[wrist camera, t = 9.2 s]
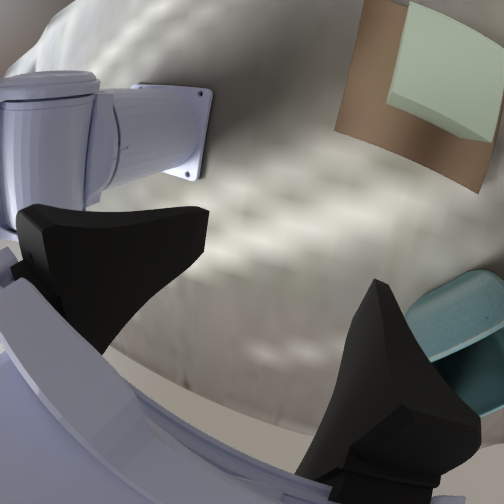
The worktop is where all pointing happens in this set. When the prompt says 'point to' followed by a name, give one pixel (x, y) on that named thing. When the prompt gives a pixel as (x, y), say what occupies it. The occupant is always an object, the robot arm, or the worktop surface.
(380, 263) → the worktop surface
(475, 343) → the flower pot
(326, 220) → the worktop surface
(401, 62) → the cube
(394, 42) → the base slab
